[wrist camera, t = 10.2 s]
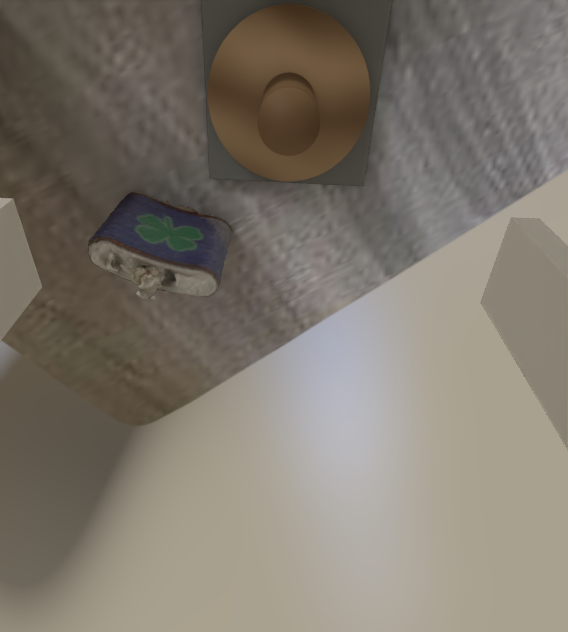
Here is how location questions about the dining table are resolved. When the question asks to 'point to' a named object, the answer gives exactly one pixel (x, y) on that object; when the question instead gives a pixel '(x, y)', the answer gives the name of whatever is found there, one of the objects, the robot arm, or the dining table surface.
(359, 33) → the mat
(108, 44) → the dining table surface
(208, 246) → the flask
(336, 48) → the lid
